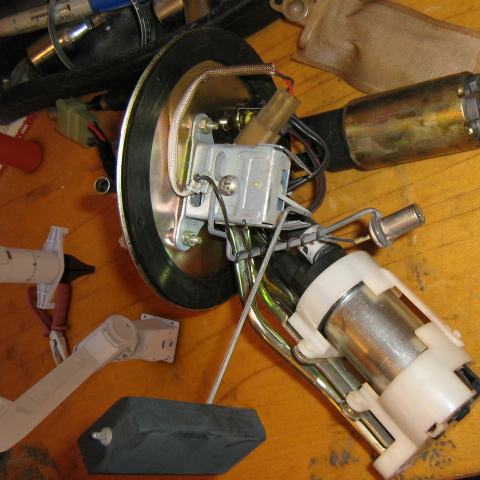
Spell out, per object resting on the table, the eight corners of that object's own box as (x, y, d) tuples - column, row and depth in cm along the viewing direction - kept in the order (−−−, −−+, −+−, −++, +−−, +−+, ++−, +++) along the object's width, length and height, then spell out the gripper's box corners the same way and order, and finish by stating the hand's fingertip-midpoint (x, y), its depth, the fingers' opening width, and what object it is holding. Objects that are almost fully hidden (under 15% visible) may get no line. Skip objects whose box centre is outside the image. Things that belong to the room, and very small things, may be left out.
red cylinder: (44, 143, 110) (-3, 128, 100) (39, 172, 110) (-9, 160, 100) (24, 142, 113) (-24, 127, 103) (19, 170, 113) (-30, 158, 102)
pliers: (49, 373, 102) (38, 375, 100) (33, 288, 107) (22, 287, 104) (86, 357, 99) (76, 359, 96) (68, 270, 103) (57, 269, 101)
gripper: (16, 220, 79) (83, 230, 91) (0, 304, 78) (70, 302, 91) (44, 225, 76) (109, 234, 89) (28, 312, 75) (96, 309, 88)
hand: (91, 269), depth 89 cm, fingers closed
